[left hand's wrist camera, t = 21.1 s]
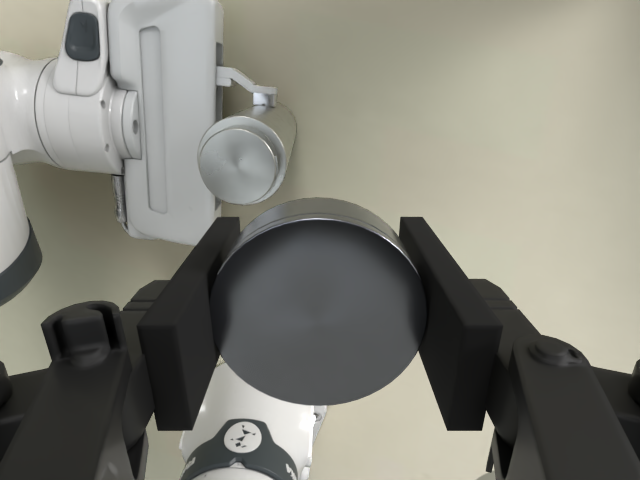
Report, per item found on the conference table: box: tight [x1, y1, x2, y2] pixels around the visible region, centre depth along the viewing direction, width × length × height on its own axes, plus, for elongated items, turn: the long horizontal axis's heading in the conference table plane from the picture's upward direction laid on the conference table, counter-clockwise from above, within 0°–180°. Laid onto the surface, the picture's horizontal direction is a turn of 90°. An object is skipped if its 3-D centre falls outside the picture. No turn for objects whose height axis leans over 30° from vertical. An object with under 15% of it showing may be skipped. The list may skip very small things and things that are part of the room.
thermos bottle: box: [197, 102, 297, 205], centre depth 30 cm, size 5×5×20 cm
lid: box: [209, 197, 428, 406], centre depth 11 cm, size 6×6×2 cm
